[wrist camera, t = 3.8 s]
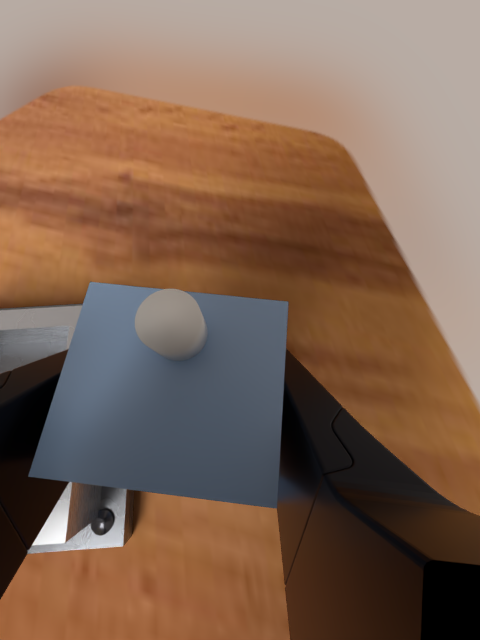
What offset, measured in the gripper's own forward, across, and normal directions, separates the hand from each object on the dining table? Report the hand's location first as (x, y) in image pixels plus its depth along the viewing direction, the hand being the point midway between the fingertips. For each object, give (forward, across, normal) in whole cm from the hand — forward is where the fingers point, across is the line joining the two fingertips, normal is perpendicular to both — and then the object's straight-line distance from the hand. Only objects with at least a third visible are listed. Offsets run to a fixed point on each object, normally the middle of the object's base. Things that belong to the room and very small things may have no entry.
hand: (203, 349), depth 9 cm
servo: (+4, 0, +6) cm, 7 cm away
